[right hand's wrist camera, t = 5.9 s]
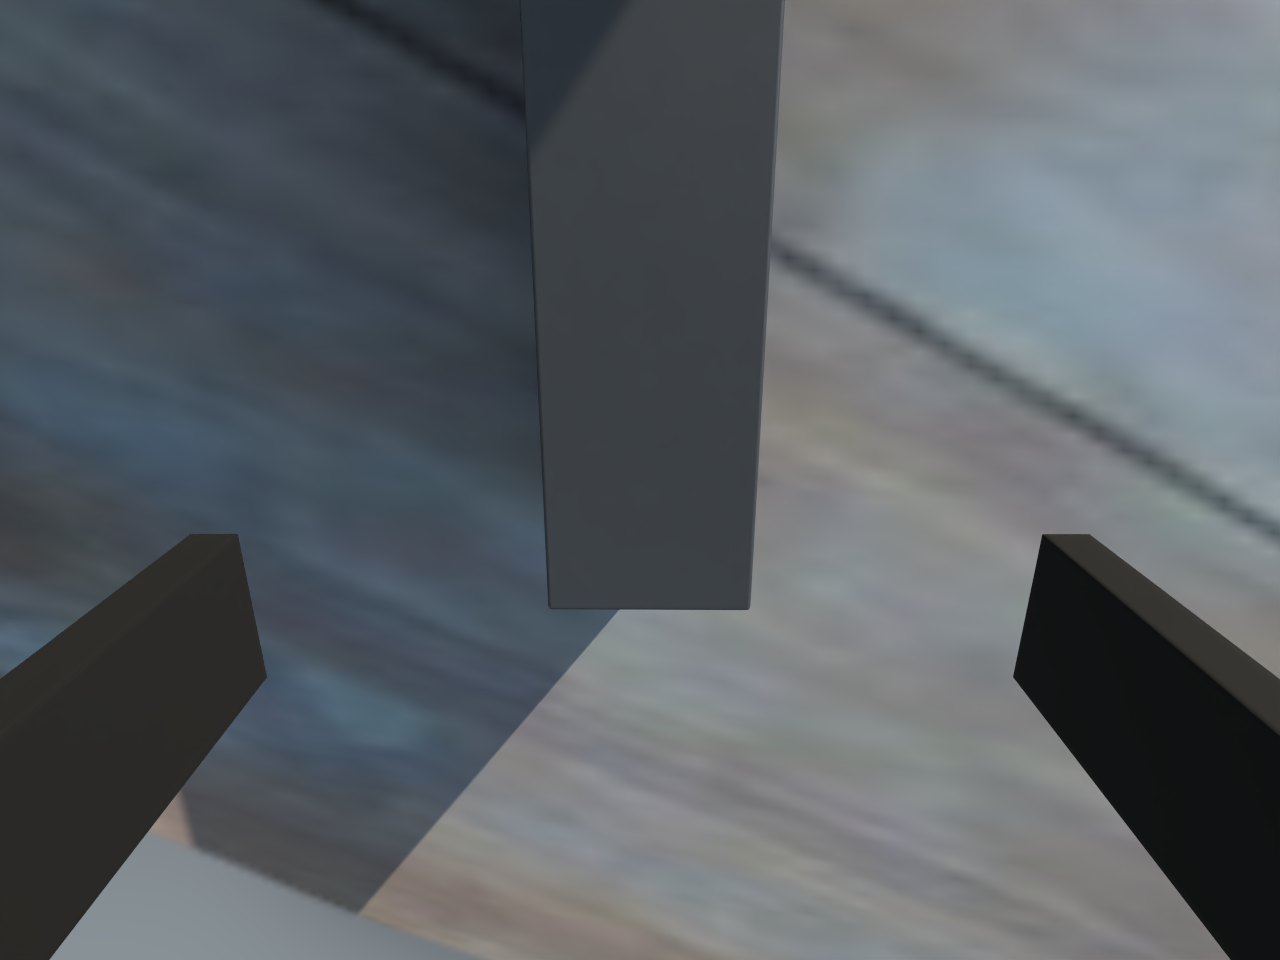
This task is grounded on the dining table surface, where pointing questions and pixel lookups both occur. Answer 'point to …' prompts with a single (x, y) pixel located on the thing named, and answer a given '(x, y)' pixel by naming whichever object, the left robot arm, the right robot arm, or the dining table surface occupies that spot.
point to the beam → (650, 290)
